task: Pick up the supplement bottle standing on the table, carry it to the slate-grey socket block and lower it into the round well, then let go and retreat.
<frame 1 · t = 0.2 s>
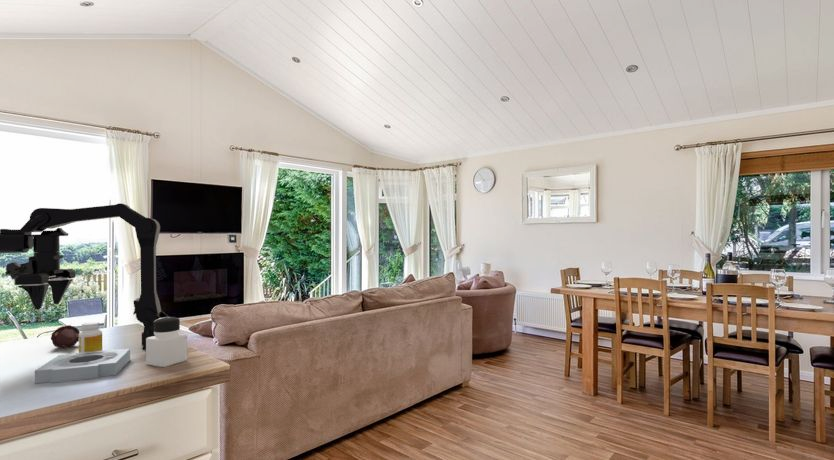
hand: (47, 306, 124), 14 cm above the worktop, tool pointing down, fingers open, 9 cm apart
medicine bottle: (167, 363, 117), on the worktop
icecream: (65, 347, 134), on the worktop
socket block: (86, 370, 110), on the worktop
supplement bottle: (90, 358, 122), on the worktop
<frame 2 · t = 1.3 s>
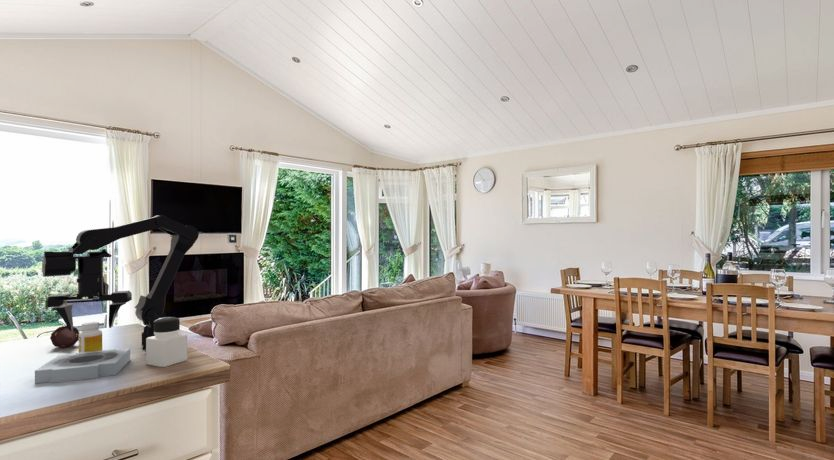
hand: (91, 329, 123), 8 cm above the worktop, tool pointing down, fingers open, 9 cm apart
nothing on the worktop moved.
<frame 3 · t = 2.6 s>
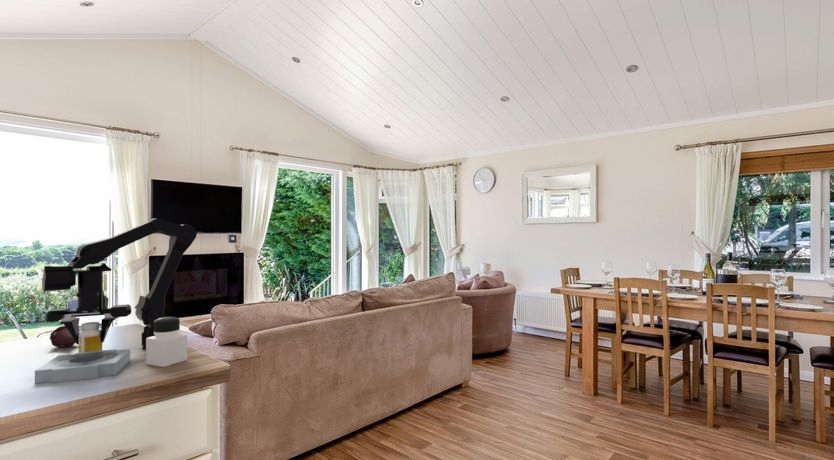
hand: (90, 343, 122), 4 cm above the worktop, tool pointing down, fingers closed on supplement bottle, 5 cm apart
supplement bottle: (90, 358, 122), on the worktop, touching gripper
everything else where it was.
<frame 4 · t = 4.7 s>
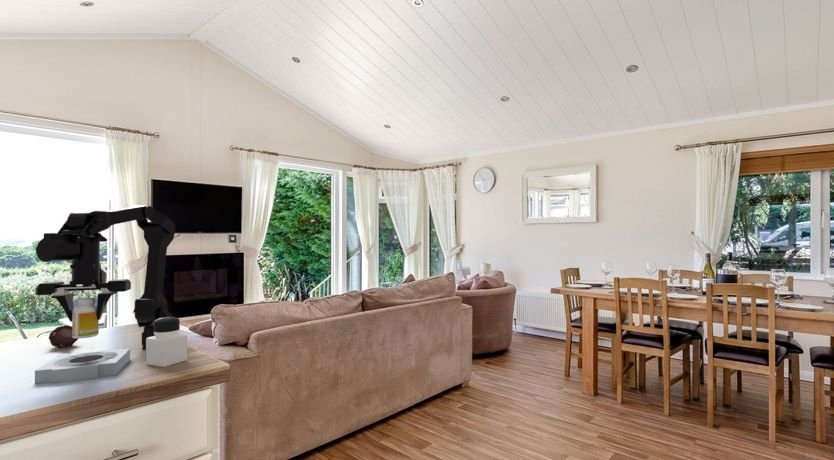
hand: (85, 320, 111), 13 cm above the worktop, tool pointing down, fingers closed on supplement bottle, 5 cm apart
supplement bottle: (85, 337, 111), point 8 cm above the worktop, touching gripper
everything else where it was.
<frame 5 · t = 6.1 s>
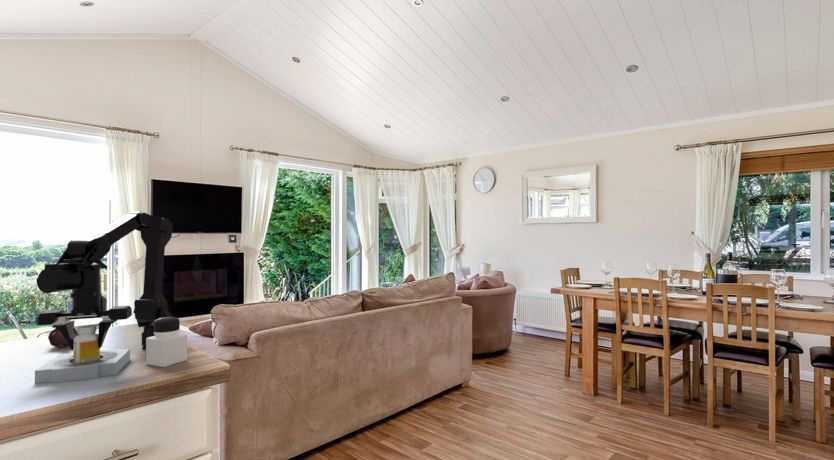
hand: (86, 348, 111), 6 cm above the worktop, tool pointing down, fingers closed on supplement bottle, 5 cm apart
supplement bottle: (86, 365, 111), point 1 cm above the worktop, touching gripper
when the fingers open (5 cm above the worktop, at t = 6.9 s): supplement bottle drops 1 cm, resting in socket block.
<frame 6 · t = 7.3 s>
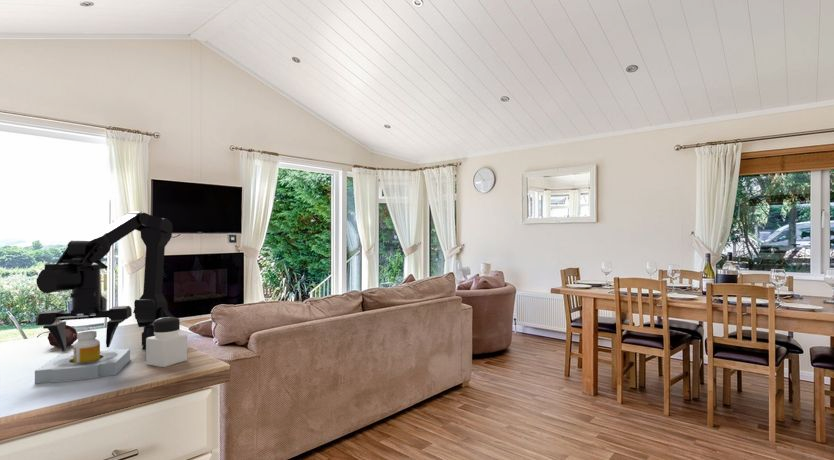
hand: (86, 349, 111), 5 cm above the worktop, tool pointing down, fingers open, 9 cm apart
supplement bottle: (87, 371, 111), resting in socket block
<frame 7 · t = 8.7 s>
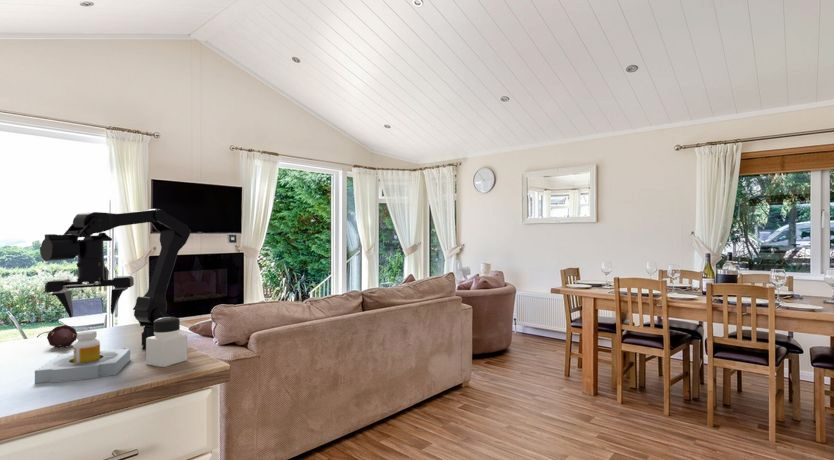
hand: (92, 315, 118), 13 cm above the worktop, tool pointing down, fingers open, 9 cm apart
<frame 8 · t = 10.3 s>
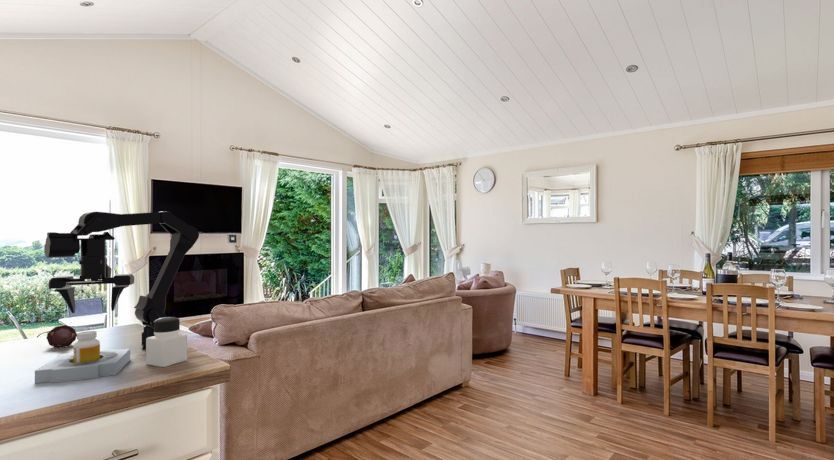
hand: (93, 311, 122), 13 cm above the worktop, tool pointing down, fingers open, 9 cm apart
at the end: supplement bottle 0.1 cm from the socket block (horizontally); supplement bottle tilted 0°; the gripper is holding nothing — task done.
